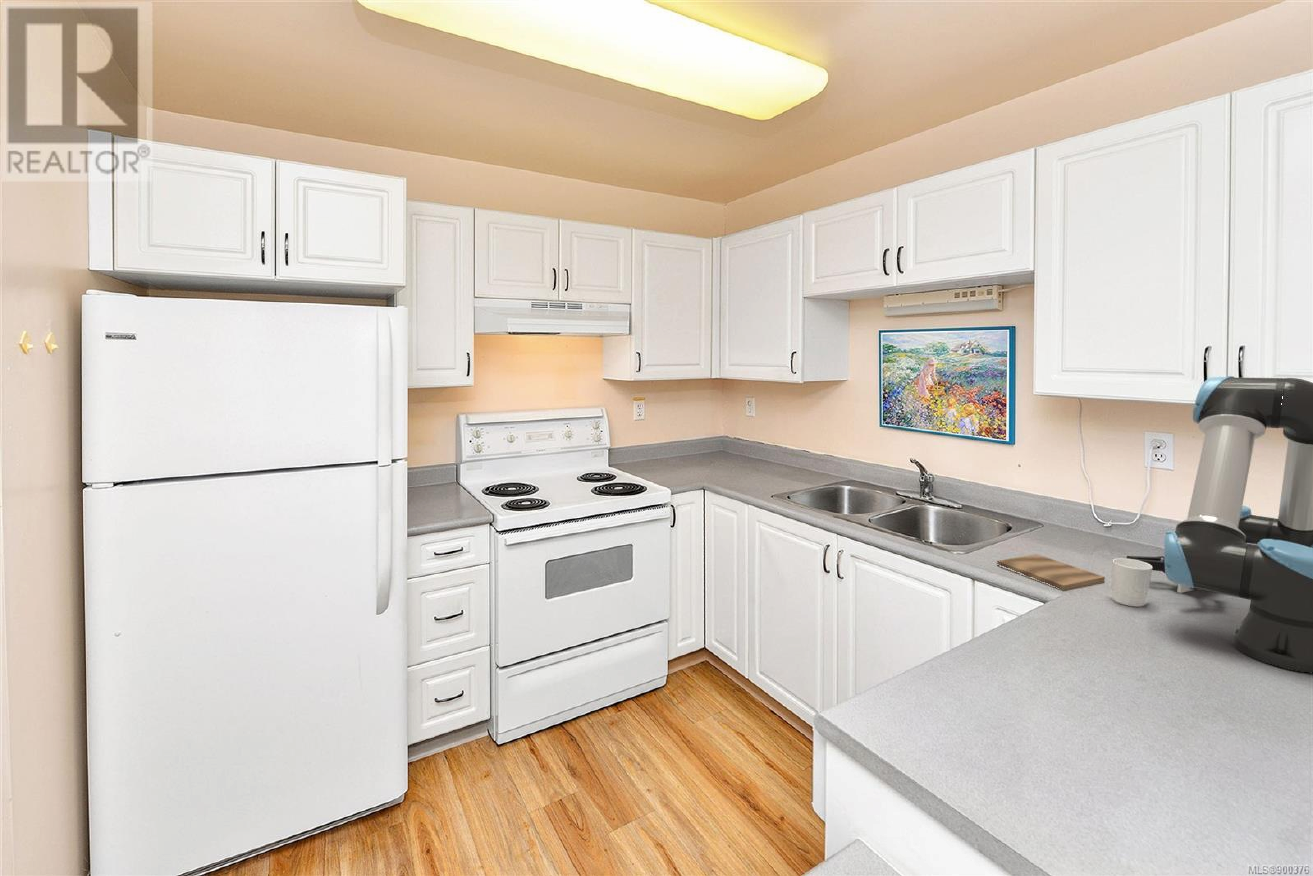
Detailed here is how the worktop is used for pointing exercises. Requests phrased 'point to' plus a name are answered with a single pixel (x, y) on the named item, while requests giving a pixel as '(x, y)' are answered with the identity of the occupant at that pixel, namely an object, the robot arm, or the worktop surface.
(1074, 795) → the worktop surface
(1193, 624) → the worktop surface
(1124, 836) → the worktop surface
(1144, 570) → the white cup
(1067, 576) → the walnut board
